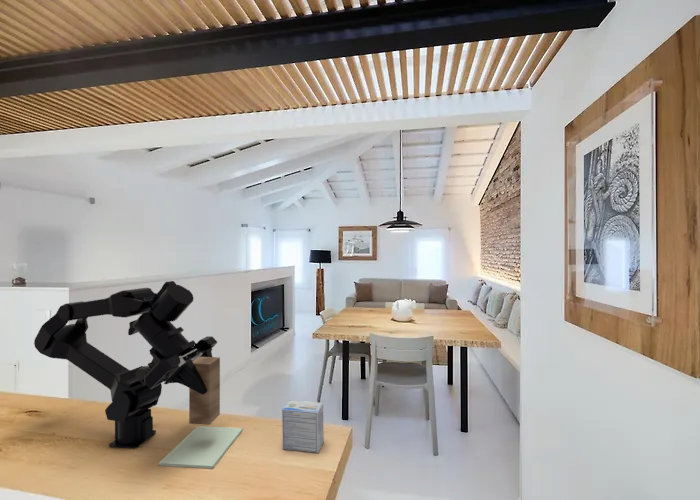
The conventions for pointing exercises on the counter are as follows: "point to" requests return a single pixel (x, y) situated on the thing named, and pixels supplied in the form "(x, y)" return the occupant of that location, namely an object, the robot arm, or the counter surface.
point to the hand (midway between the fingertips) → (211, 388)
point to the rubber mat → (202, 447)
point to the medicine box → (302, 426)
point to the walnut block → (206, 405)
